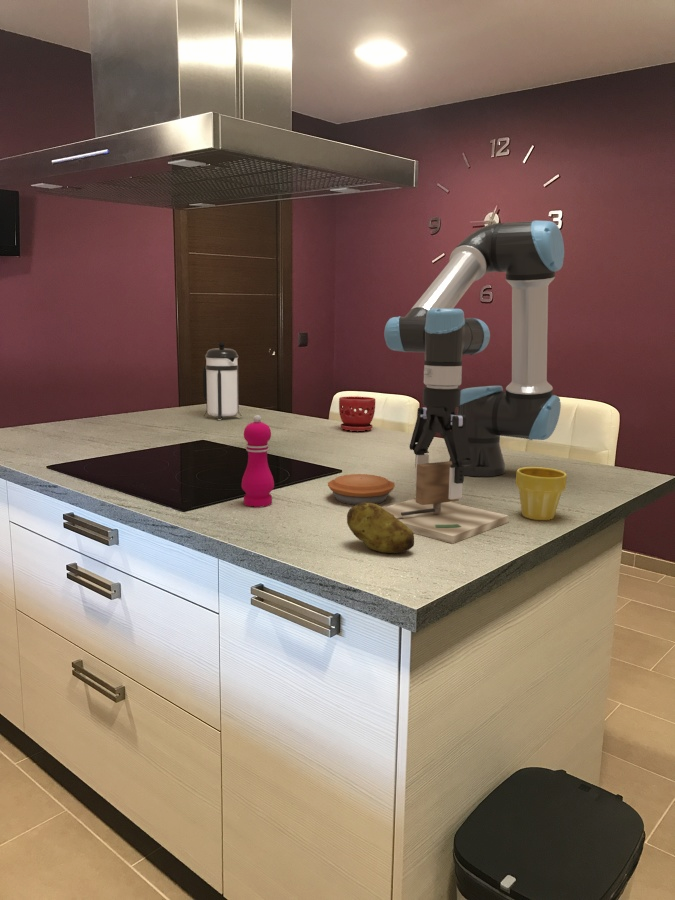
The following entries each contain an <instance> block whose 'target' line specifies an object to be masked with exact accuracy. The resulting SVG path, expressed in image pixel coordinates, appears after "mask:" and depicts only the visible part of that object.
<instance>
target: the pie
mask: <svg viewBox="0 0 675 900" xmlns="http://www.w3.org/2000/svg"><path fill="white" fill-rule="evenodd" d="M395 485H396V484H395V482H393V481H391V480H389V479H387V478H386V477H383V476H380V475H375V474H367V473H366V474H364V473H362V474H361V473H354V474H344V475H339V476H336V477H335V478H334V479H332V480H330V481H328V482H327V486H328V488H329V490H330V491H332V494H333V496H334V497H335V498H336V500H337V501H338V502H340V503H343V504H347V505H352V506H355V505H357V504H359V503H366V502H369V503H374V504H377V505H379V504H382V503H383V502H385V501H386V499H387V498H388V496H389V494H390V493H391V492H392V491H393V490H394V488H395Z"/></svg>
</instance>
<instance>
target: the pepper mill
mask: <svg viewBox="0 0 675 900" xmlns="http://www.w3.org/2000/svg"><path fill="white" fill-rule="evenodd" d="M252 420H253V422H250V423H248V424H247V425H246V426H245V427H244V430H243V439H244V440H245V441H246V445H245V446H246V449H245V450H246V452H247V456H248V457H247V464H246V467H245V470H244V473H243V476H242V479H241V489H242V490H243V491H244V492H245V495H244V496H243V504H244V506H247V507H250V506H254V507H253V508H261V507H260V506H264V507H268V506H270V504H271V503H273V496H272V494H271V492H273V490H274V488H275V481H274V477H273V475H272V472H271V470H270V467H269V463H268V451H270V448H269V446H270V444H269V443H268V442H269V441H270V440H271V437H272V431H271V428H270V426H269V425H268V424H266V423H264V422H262V417H261V415H259V414H256V415H254V416H253V418H252ZM267 505H268V506H267ZM271 505H272V504H271Z"/></svg>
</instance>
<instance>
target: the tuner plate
mask: <svg viewBox="0 0 675 900" xmlns="http://www.w3.org/2000/svg"><path fill="white" fill-rule="evenodd" d="M382 508H383V509H384V510H386V511H388V512H389V513H391V514H393V515H394V517H396V518H397V519H398V520H399V521H401V522H402V523H404V524H405V525H406V526H407V527H408V528H409V529H411V531H412V532H413V534H416V535H419V536H423V537H427V538H431V539H433V540H434V539H435V540H437V541H440V542H445V543H449V544H452V545H453V544H455V543H458V542H460V541H464V540H465V539H469V538H471V537H473V536H476V535H479V534H481V533H485V532H487V531H489V530H492V529H494V528H497V527H501V526H502V525H506V524H508V523H509V519H510V518H509V515H508V514H504V513H499V512H495V511H490V510H486V509H482V508H478V507H472V506H469V505H465V504H460V503H457V502H453V501H451V502H443V503H441V513H440V514H435V513H433V512H428V513H420V514H413V515H405V516H402V515H401V512H409V511H417V510H425V509H432V508H433V504H427V505H421V504H418V503H416V497H415V498H410V499H408V500H407V499H406V500H405V501H404V500H403V501H401V502H397V503H394V504H391V505H388V506H383V507H382Z"/></svg>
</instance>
